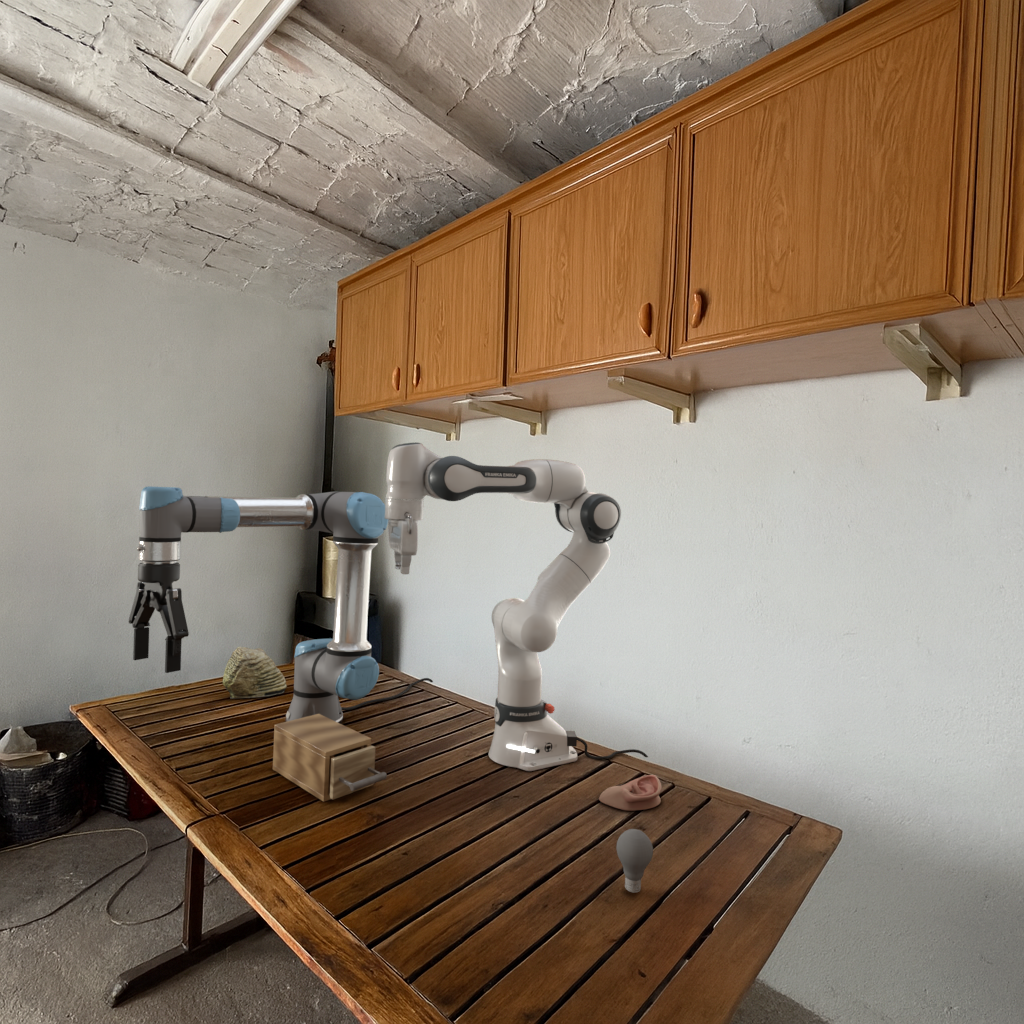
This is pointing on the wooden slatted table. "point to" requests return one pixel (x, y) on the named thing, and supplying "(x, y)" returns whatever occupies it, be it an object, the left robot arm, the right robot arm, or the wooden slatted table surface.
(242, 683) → the fossil
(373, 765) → the drawer
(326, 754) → the cabinet
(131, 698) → the wooden slatted table surface
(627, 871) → the light bulb
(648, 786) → the anatomical model
